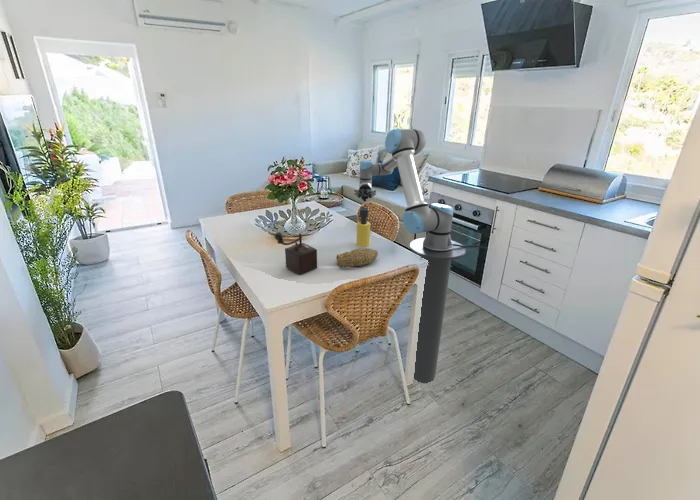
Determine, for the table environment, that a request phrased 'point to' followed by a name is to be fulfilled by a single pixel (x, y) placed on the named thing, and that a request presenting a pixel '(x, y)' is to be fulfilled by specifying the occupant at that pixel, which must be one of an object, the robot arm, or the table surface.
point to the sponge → (356, 257)
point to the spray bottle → (363, 229)
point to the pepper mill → (298, 255)
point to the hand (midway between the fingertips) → (364, 198)
